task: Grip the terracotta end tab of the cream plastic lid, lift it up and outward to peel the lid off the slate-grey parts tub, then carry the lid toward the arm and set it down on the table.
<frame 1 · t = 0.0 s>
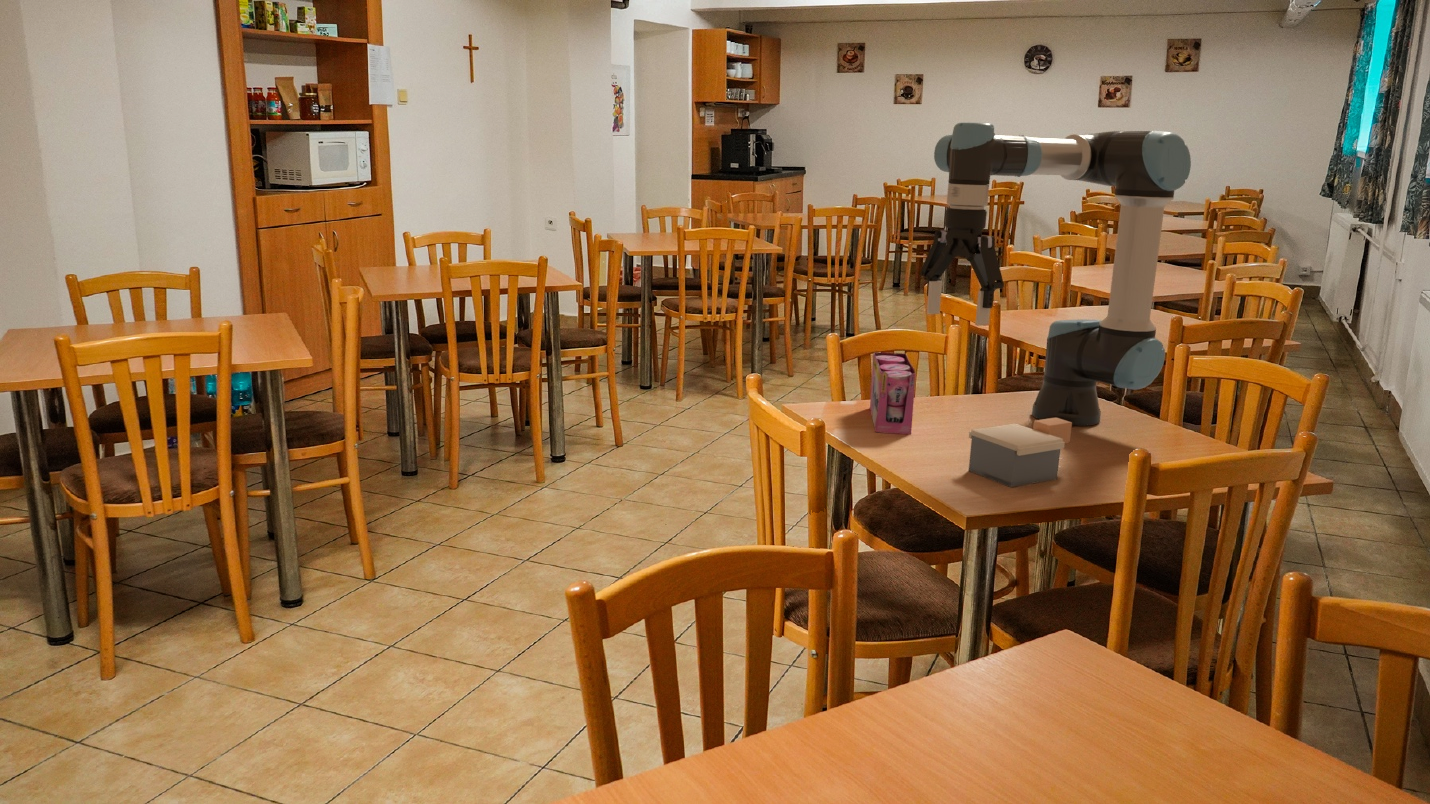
hand: (956, 319, 203), 28 cm above the table, fingers open, 13 cm apart
gum box: (889, 421, 238), on the table
tub: (1012, 474, 201), on the table
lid: (1016, 439, 199), point 7 cm above the table, touching tub
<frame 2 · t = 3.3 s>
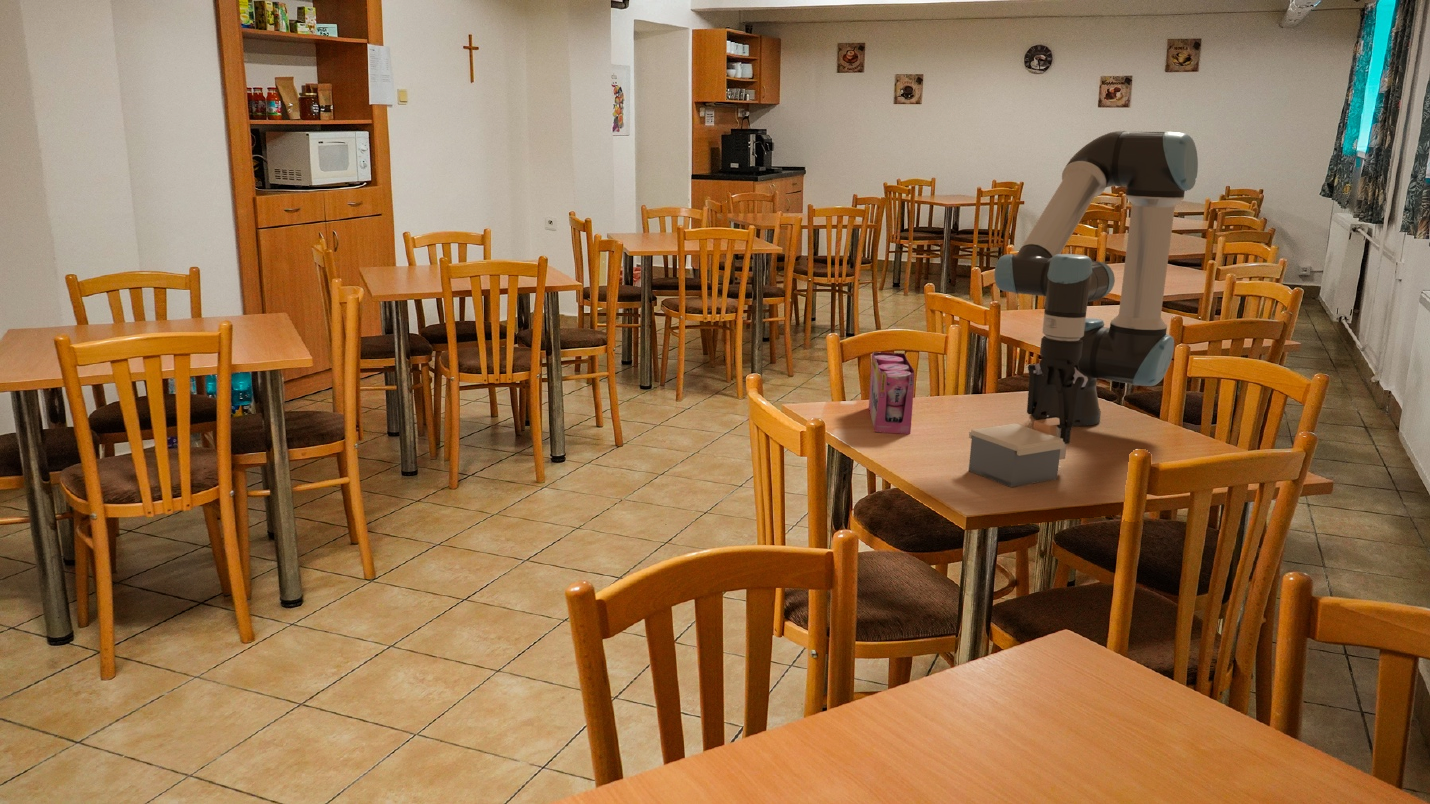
hand: (1049, 455, 205), 3 cm above the table, fingers closed on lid, 4 cm apart
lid: (1016, 439, 199), point 7 cm above the table, touching gripper, tub
everything else where it was.
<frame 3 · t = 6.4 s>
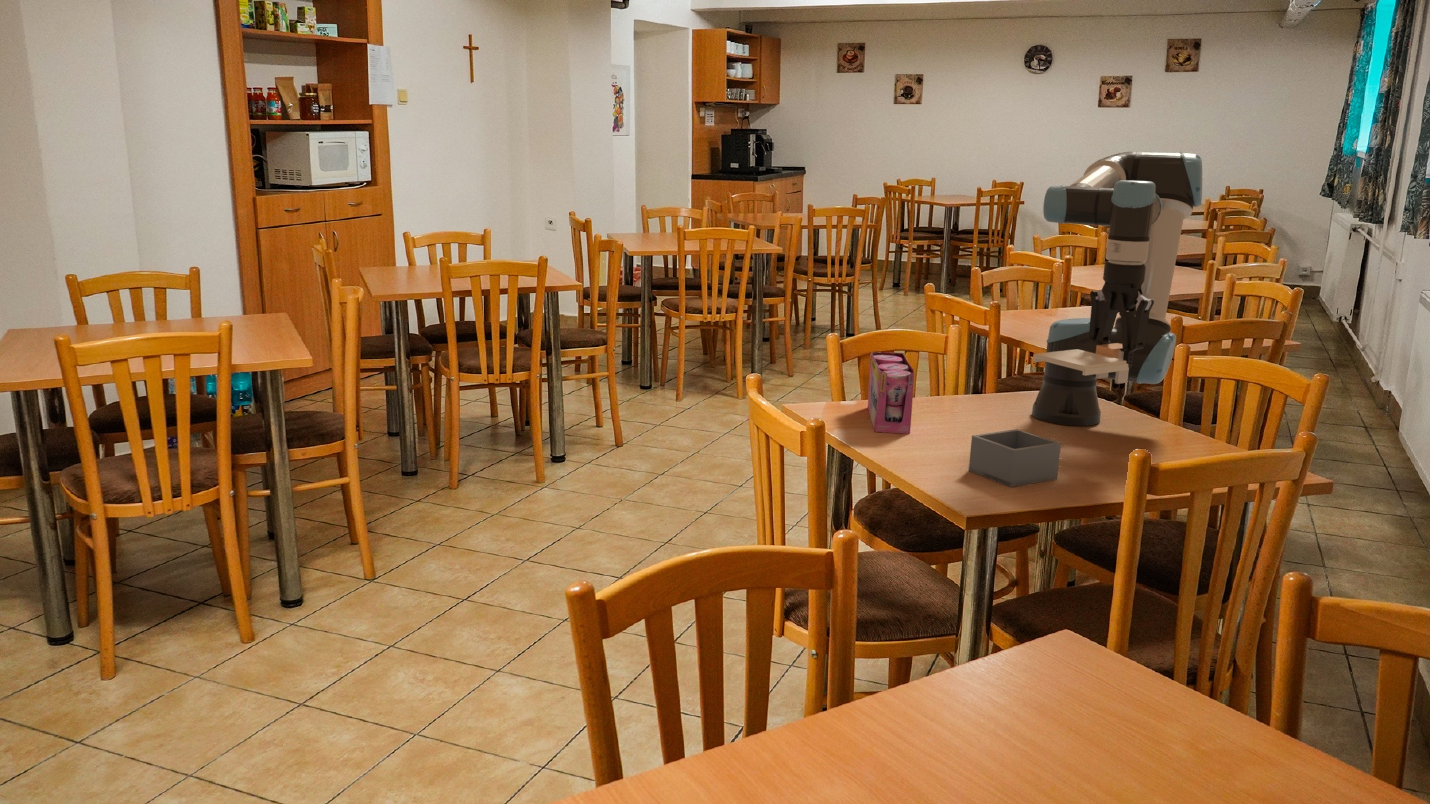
hand: (1111, 379, 210), 16 cm above the table, fingers closed on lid, 4 cm apart
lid: (1079, 362, 204), point 21 cm above the table, touching gripper
everything else where it was.
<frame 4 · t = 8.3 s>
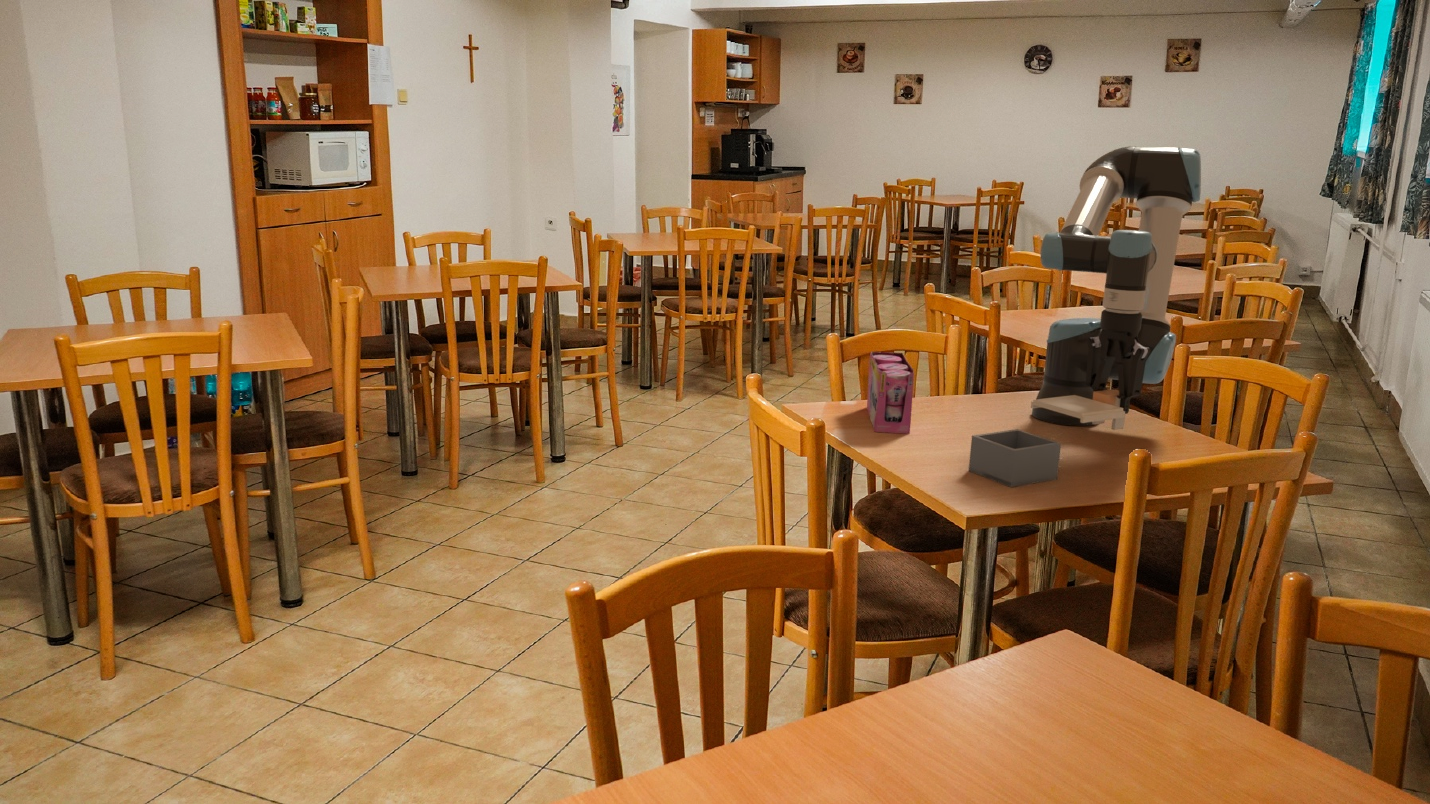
hand: (1107, 425, 212), 7 cm above the table, fingers closed on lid, 4 cm apart
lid: (1077, 408, 206), point 11 cm above the table, touching gripper
everything else where it was.
when the fingers open (1 cm above the table, at t = 9.7 s): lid drops 4 cm, point 1 cm above the table.
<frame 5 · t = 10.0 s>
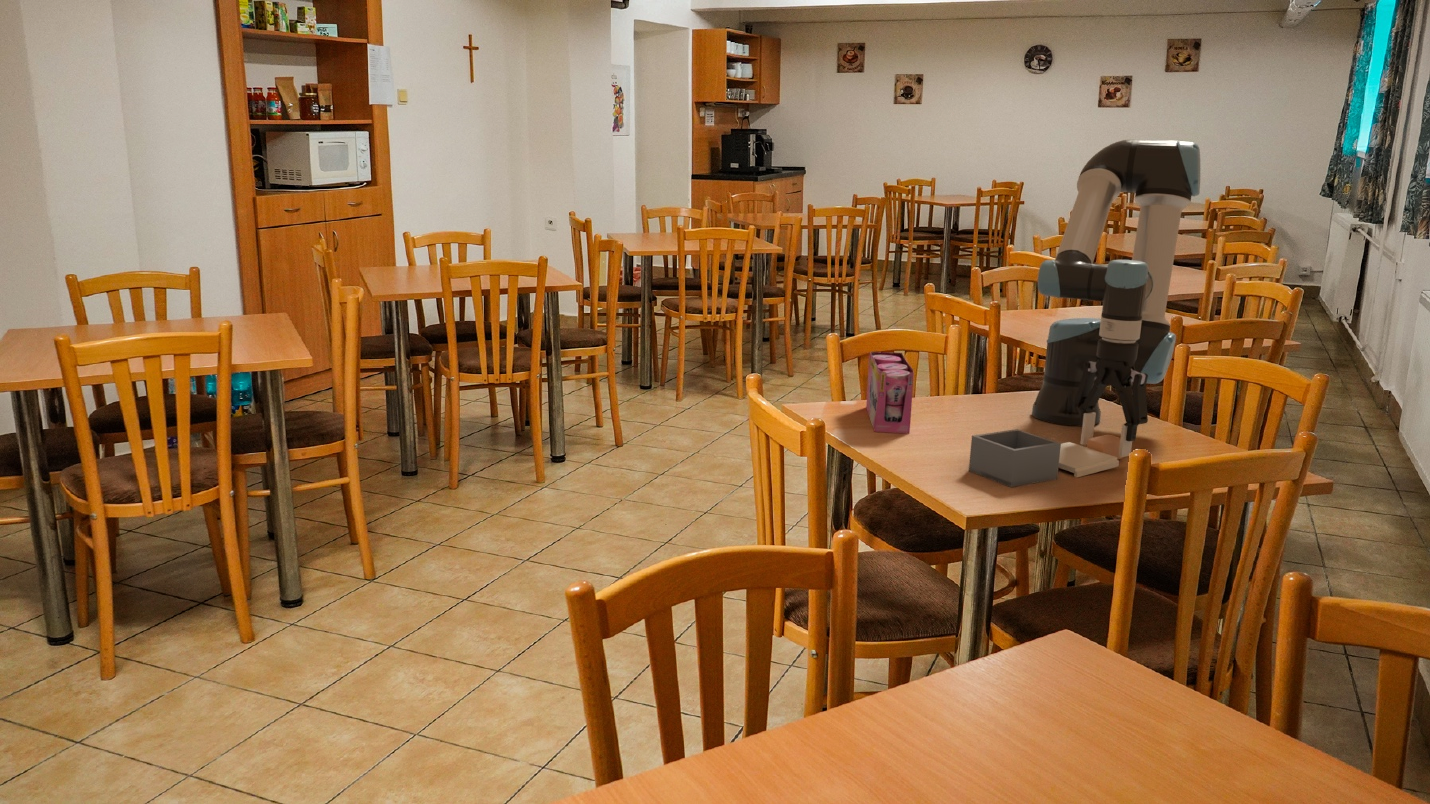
hand: (1105, 449, 213), 2 cm above the table, fingers open, 9 cm apart
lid: (1071, 459, 209), point 1 cm above the table
everything else where it was.
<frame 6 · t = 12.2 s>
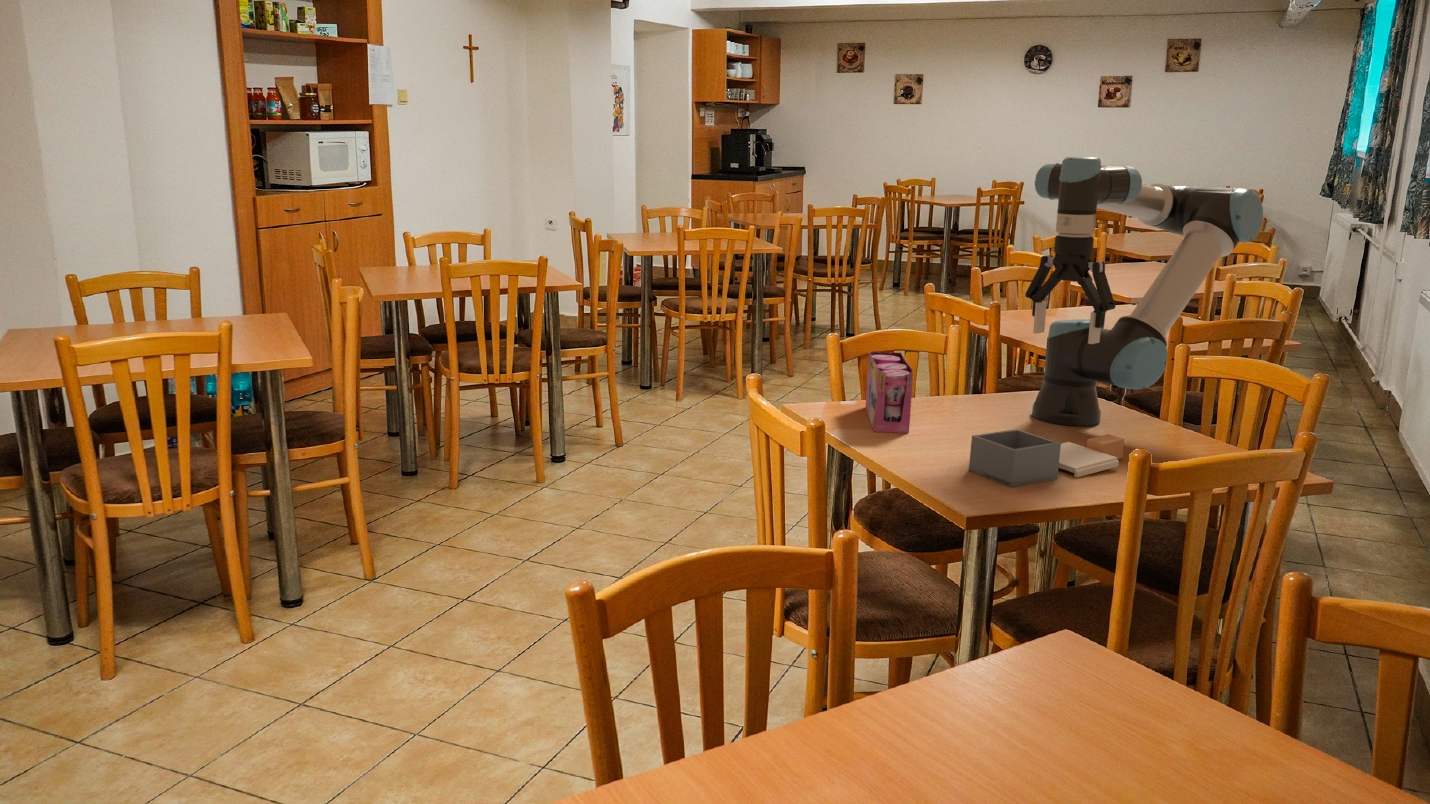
hand: (1065, 337, 220), 22 cm above the table, fingers open, 13 cm apart
nothing on the table moved.
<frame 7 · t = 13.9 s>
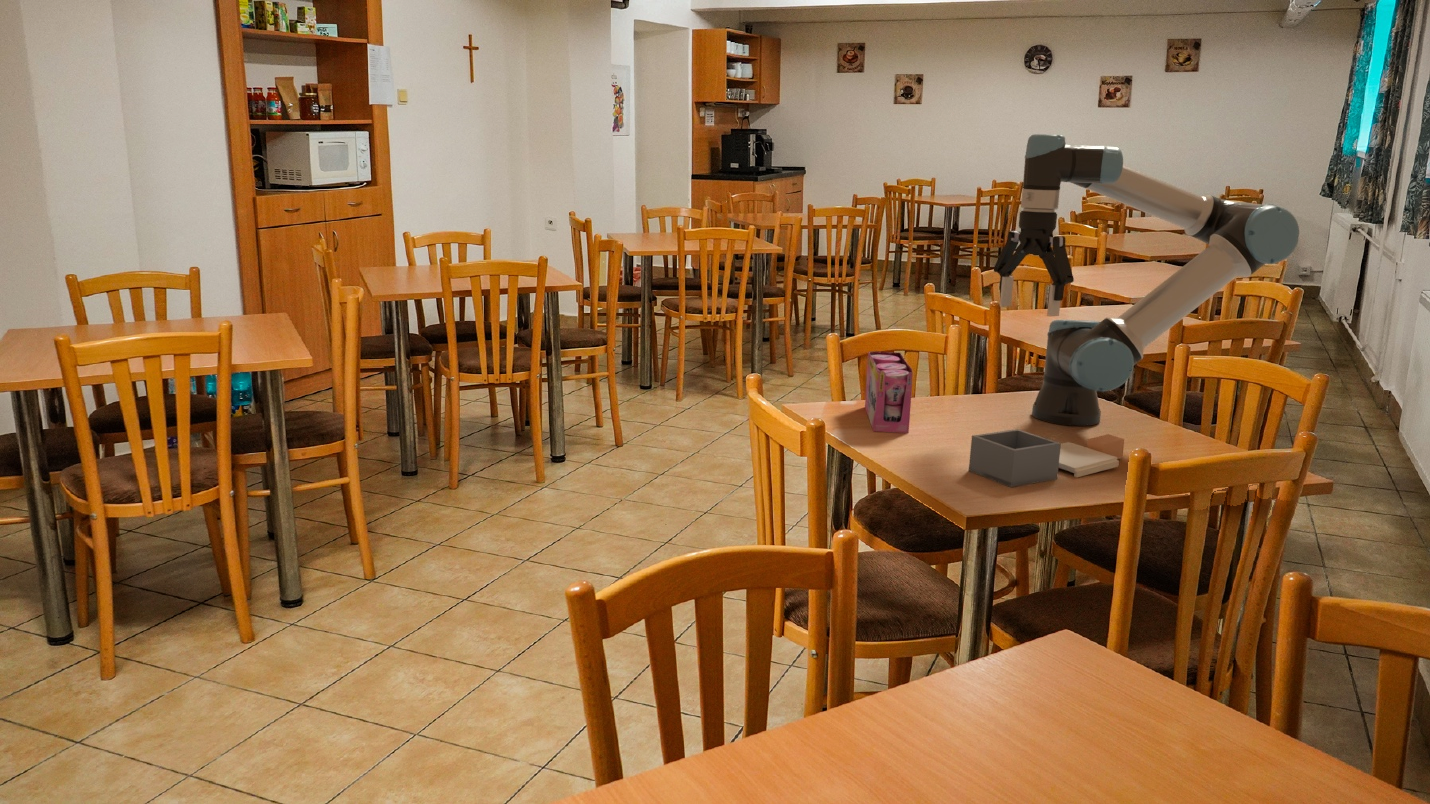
hand: (1028, 311, 226), 27 cm above the table, fingers open, 13 cm apart
at the end: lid inside the target area (1.0 cm from its centre), point 1.1 cm above the table; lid touching table; the gripper is holding nothing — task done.
